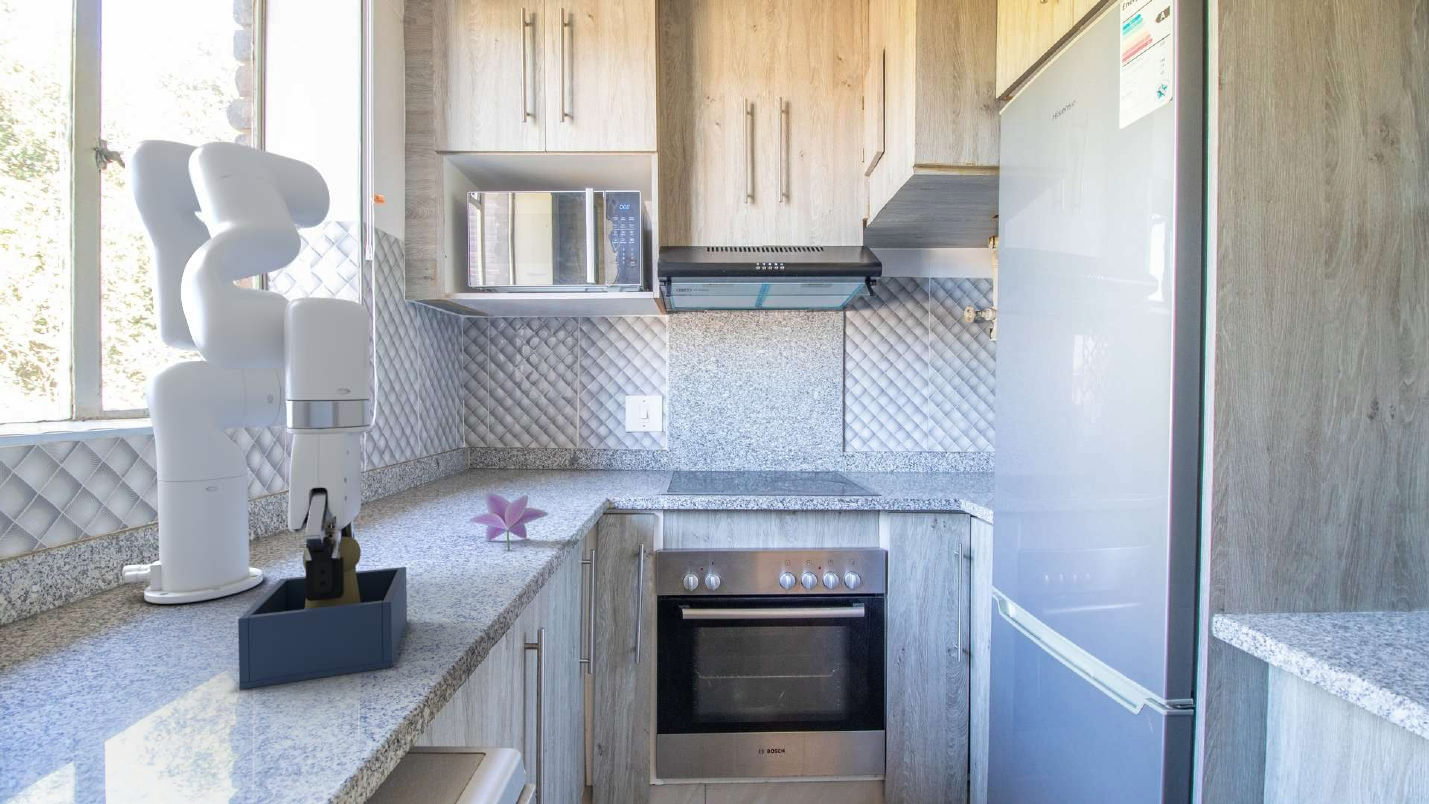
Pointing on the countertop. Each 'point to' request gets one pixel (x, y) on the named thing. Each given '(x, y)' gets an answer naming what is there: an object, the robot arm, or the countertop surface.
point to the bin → (322, 631)
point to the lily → (507, 516)
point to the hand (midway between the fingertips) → (332, 587)
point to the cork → (351, 592)
